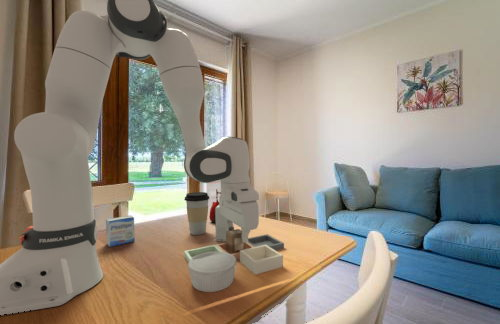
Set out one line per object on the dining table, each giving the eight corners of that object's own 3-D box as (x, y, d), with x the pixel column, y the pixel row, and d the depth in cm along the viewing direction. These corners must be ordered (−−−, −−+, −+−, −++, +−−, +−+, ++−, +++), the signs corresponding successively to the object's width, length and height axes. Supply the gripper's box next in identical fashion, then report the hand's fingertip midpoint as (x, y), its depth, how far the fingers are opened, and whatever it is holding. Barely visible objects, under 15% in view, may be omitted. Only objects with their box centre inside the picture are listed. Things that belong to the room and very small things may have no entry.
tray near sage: (193, 271, 61) (192, 264, 61) (184, 257, 70) (184, 250, 70) (227, 263, 66) (227, 256, 66) (215, 251, 74) (215, 244, 74)
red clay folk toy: (227, 219, 110) (227, 187, 109) (224, 224, 103) (224, 189, 102) (211, 219, 110) (210, 187, 110) (207, 223, 103) (206, 189, 103)
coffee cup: (215, 231, 93) (214, 192, 93) (197, 238, 86) (197, 196, 85) (197, 227, 99) (196, 191, 98) (179, 233, 91) (178, 194, 90)
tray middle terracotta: (227, 263, 66) (227, 256, 66) (215, 251, 74) (215, 244, 74) (257, 255, 70) (257, 249, 70) (242, 245, 79) (242, 239, 79)
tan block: (232, 256, 69) (231, 235, 69) (226, 250, 73) (225, 231, 73) (246, 253, 71) (245, 232, 71) (239, 247, 75) (239, 228, 75)
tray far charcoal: (257, 256, 70) (257, 249, 70) (242, 245, 79) (242, 239, 79) (284, 249, 75) (283, 243, 75) (267, 239, 83) (267, 234, 83)
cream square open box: (255, 276, 58) (254, 262, 58) (239, 263, 66) (239, 250, 66) (283, 268, 62) (282, 255, 62) (265, 256, 70) (265, 244, 70)
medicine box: (109, 247, 78) (108, 221, 78) (106, 244, 81) (105, 218, 81) (135, 241, 83) (134, 216, 83) (131, 238, 87) (130, 214, 86)
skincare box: (227, 242, 81) (226, 207, 80) (215, 242, 82) (214, 207, 81) (232, 236, 87) (231, 203, 86) (221, 236, 88) (220, 203, 87)
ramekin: (216, 266, 64) (216, 247, 64) (246, 281, 56) (246, 259, 56) (179, 283, 56) (178, 261, 56) (207, 303, 48) (207, 278, 48)
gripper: (213, 188, 79) (215, 229, 80) (241, 197, 61) (242, 250, 62) (231, 186, 82) (232, 226, 83) (262, 194, 64) (263, 245, 65)
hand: (237, 236), depth 72 cm, fingers open, 8 cm apart
